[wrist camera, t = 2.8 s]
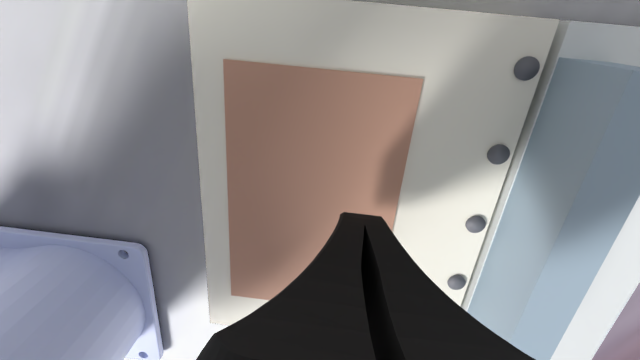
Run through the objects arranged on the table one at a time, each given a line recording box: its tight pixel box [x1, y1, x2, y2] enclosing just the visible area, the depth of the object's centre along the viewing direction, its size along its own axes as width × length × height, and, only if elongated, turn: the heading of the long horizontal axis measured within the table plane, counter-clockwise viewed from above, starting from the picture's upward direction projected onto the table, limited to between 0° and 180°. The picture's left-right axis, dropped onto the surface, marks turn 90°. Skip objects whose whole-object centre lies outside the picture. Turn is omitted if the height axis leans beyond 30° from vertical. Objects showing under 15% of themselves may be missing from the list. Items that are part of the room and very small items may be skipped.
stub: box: [460, 20, 640, 360], centre depth 12 cm, size 6×14×4 cm, turn 175°
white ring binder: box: [187, 0, 560, 325], centre depth 14 cm, size 11×14×2 cm
